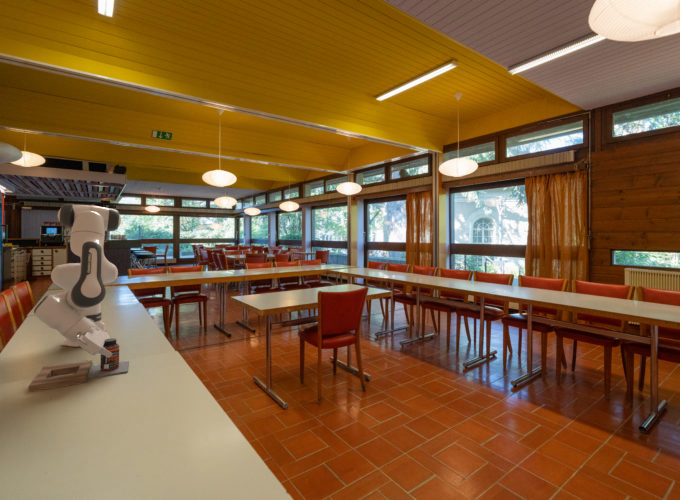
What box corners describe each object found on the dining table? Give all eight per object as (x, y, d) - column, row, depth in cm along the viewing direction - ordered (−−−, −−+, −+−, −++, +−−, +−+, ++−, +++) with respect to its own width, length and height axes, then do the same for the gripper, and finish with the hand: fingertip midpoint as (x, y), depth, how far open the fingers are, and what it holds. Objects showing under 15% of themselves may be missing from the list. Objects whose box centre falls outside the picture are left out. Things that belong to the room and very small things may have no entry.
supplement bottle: (109, 372, 123) (109, 342, 123) (96, 370, 125) (96, 341, 124) (123, 366, 129) (122, 338, 129) (110, 365, 131) (110, 336, 130)
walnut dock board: (43, 371, 124) (43, 366, 124) (92, 365, 132) (92, 360, 132) (28, 391, 108) (28, 385, 108) (84, 382, 116) (84, 377, 116)
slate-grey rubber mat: (93, 367, 129) (93, 366, 129) (129, 362, 135) (129, 360, 135) (88, 378, 119) (88, 377, 119) (127, 372, 125) (127, 371, 125)
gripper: (83, 330, 114) (117, 353, 119) (91, 317, 132) (120, 338, 137) (66, 344, 112) (101, 367, 117) (77, 330, 130) (107, 350, 135)
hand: (112, 351), depth 127 cm, fingers open, 8 cm apart
